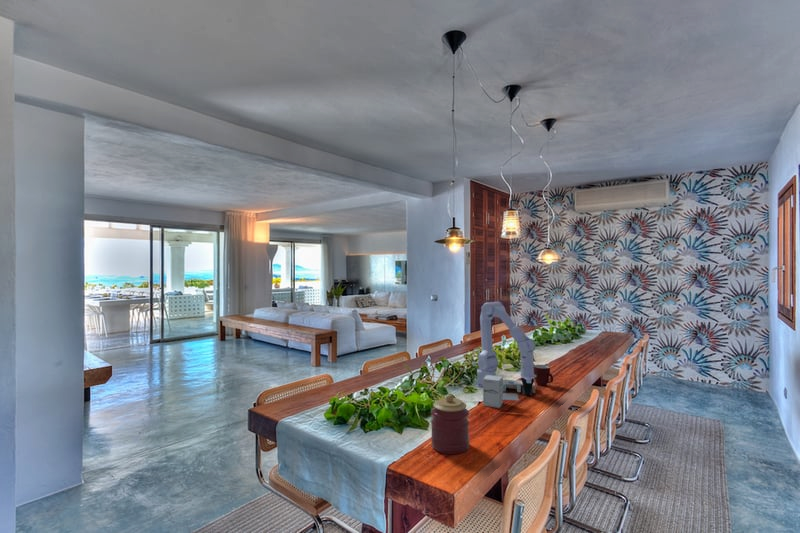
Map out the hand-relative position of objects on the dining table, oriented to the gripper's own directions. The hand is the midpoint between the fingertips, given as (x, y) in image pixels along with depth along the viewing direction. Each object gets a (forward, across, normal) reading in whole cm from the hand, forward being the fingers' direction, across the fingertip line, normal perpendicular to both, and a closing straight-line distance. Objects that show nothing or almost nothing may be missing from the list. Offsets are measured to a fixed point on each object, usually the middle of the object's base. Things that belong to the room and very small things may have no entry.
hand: (527, 394), depth 182 cm
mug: (+2, +19, -10) cm, 22 cm away
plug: (+2, +5, 0) cm, 6 cm away
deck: (+1, -3, +8) cm, 9 cm away
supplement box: (+2, -15, +16) cm, 22 cm away
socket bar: (+1, +8, +4) cm, 9 cm away
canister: (+2, -58, +31) cm, 66 cm away
